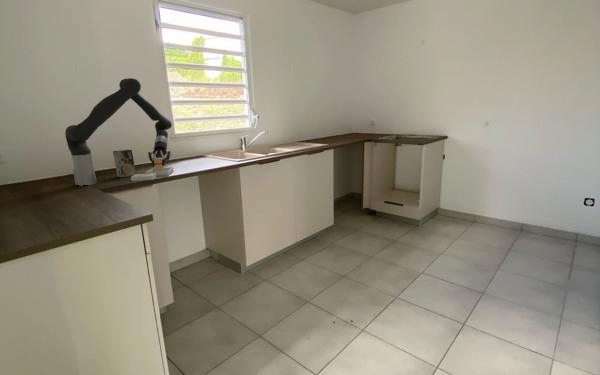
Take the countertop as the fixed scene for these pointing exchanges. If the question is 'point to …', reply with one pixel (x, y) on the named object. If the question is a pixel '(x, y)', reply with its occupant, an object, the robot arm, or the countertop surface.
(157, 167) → the fuse
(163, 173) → the tray
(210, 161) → the countertop surface
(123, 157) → the coffee box
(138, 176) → the fuse holder
